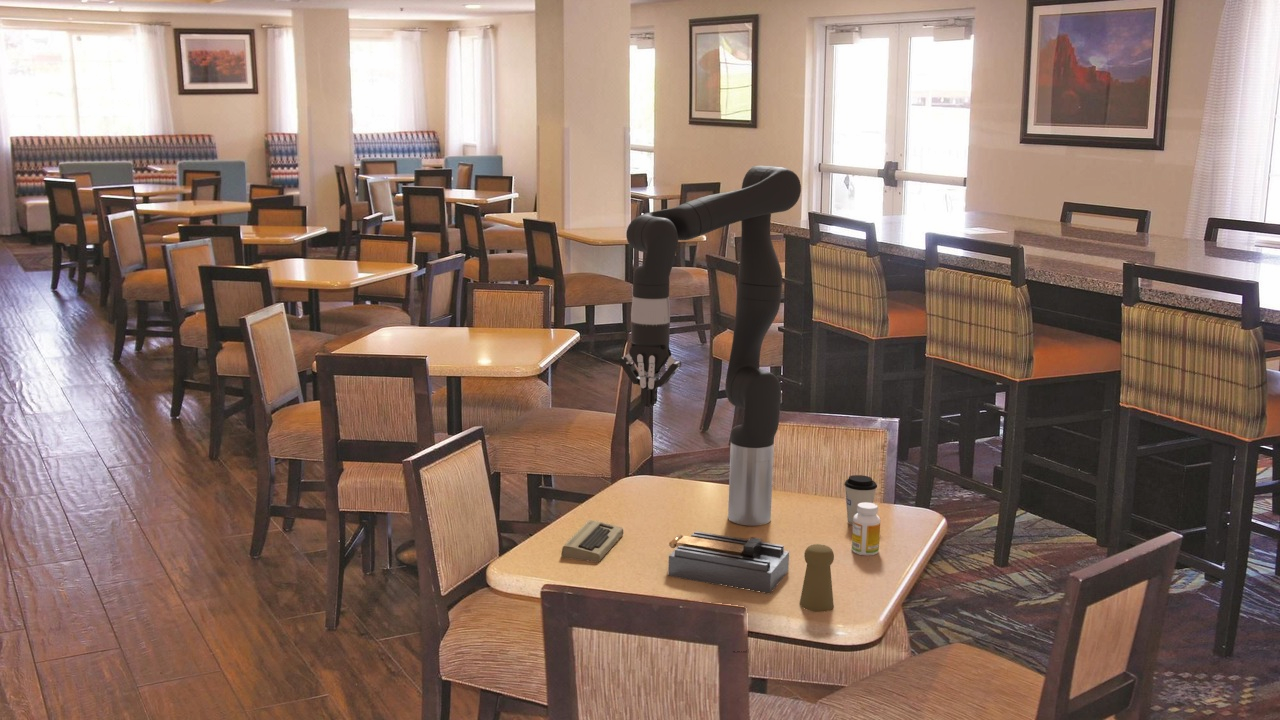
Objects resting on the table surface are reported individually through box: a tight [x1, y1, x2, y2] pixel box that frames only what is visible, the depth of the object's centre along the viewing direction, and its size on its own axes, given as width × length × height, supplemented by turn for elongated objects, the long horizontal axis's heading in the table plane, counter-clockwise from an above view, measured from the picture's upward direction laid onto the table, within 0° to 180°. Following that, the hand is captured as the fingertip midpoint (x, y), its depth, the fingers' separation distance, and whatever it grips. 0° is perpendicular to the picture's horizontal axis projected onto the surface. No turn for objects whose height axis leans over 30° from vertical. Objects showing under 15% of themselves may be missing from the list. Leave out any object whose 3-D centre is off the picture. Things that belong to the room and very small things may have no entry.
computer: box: [560, 519, 624, 563], centre depth 236 cm, size 16×8×3 cm, turn 163°
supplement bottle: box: [851, 502, 881, 556], centre depth 235 cm, size 5×5×10 cm
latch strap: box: [668, 534, 744, 556], centre depth 224 cm, size 4×14×1 cm, turn 67°
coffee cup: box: [843, 474, 878, 526], centre depth 251 cm, size 7×7×10 cm
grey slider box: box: [667, 530, 790, 594], centre depth 223 cm, size 12×20×7 cm, turn 67°
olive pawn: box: [799, 543, 835, 613], centre depth 209 cm, size 6×6×11 cm
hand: (648, 406), depth 231 cm, fingers closed
